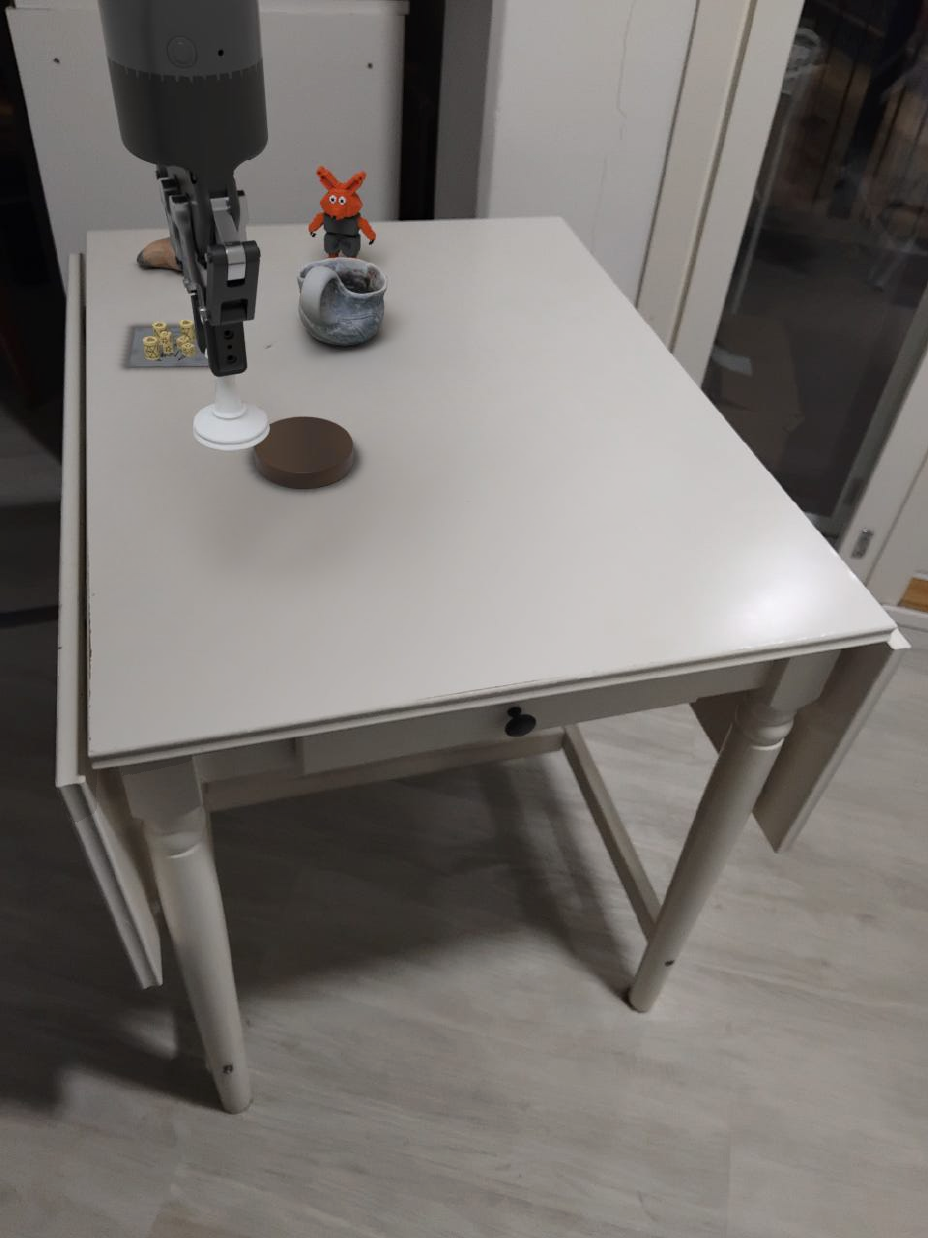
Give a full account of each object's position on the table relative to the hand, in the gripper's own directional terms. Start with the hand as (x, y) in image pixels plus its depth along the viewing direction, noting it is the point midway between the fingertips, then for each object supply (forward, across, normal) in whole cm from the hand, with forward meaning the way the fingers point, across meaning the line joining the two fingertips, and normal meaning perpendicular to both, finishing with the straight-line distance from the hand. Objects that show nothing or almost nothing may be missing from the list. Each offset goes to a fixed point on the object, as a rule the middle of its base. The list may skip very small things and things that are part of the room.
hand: (222, 359), depth 59 cm
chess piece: (+5, 0, 0) cm, 5 cm away
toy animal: (+21, +52, -26) cm, 62 cm away
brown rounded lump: (+21, +59, -9) cm, 63 cm away
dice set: (+21, +41, -3) cm, 46 cm away
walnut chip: (+21, +17, -10) cm, 29 cm away
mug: (+21, +36, -20) cm, 47 cm away
